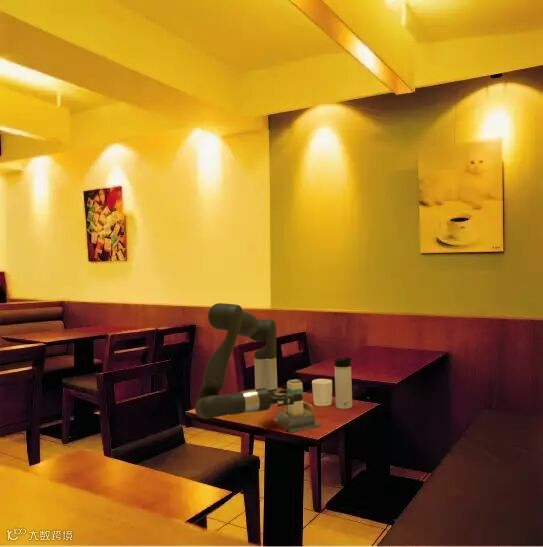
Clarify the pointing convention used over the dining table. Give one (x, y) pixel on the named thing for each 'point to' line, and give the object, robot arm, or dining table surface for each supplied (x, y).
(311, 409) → the wooden square tray
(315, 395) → the white cup
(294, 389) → the plug
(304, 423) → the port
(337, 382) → the travel mug
